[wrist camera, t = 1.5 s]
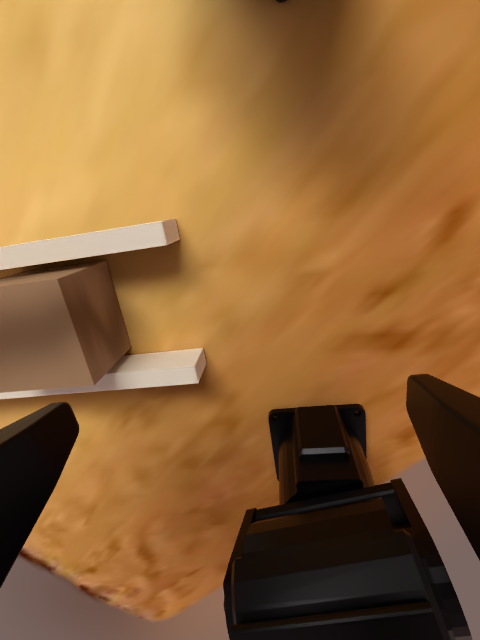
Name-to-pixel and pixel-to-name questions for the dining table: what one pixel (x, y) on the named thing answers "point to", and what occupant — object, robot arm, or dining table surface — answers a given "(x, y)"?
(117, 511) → the dining table surface
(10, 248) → the chute
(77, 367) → the walnut block
